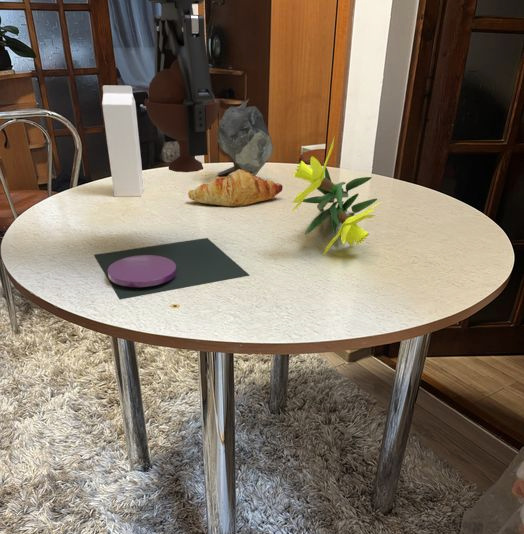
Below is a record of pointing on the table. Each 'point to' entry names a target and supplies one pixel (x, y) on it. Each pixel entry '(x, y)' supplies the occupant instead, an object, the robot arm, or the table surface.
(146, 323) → the table surface
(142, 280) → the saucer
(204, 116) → the robot arm
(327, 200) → the daffodil flowers
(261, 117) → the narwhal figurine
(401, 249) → the table surface
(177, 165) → the ice cream bowl
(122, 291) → the placemat
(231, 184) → the croissant
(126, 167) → the milk
